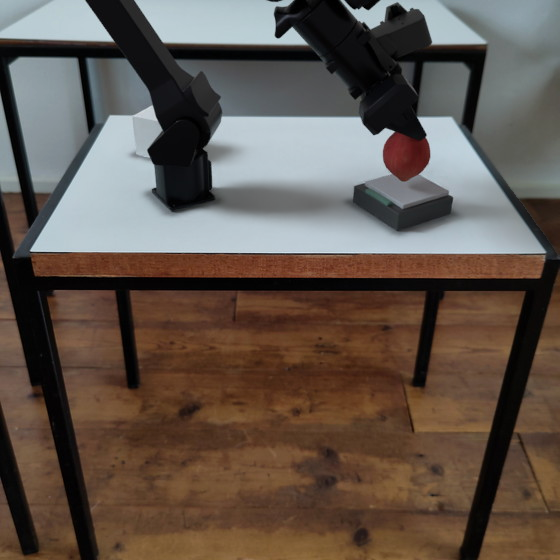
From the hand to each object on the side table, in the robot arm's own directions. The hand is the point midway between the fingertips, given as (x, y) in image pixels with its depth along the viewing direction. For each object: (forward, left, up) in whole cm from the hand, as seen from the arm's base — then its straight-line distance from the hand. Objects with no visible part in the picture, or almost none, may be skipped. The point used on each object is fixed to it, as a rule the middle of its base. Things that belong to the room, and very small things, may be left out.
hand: (420, 132), depth 84 cm
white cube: (-20, +33, -11) cm, 40 cm away
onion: (-1, +1, -7) cm, 7 cm away
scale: (-1, +1, -10) cm, 10 cm away
